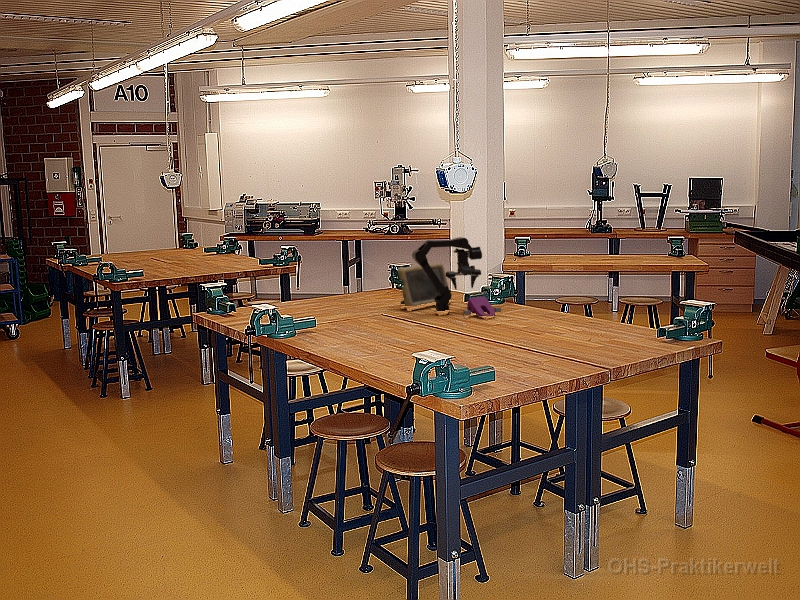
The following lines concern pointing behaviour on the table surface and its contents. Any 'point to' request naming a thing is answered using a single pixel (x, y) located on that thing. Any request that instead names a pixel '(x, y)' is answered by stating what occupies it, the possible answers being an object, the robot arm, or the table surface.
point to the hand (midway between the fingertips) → (464, 289)
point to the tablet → (420, 284)
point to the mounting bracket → (480, 306)
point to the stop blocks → (468, 312)
